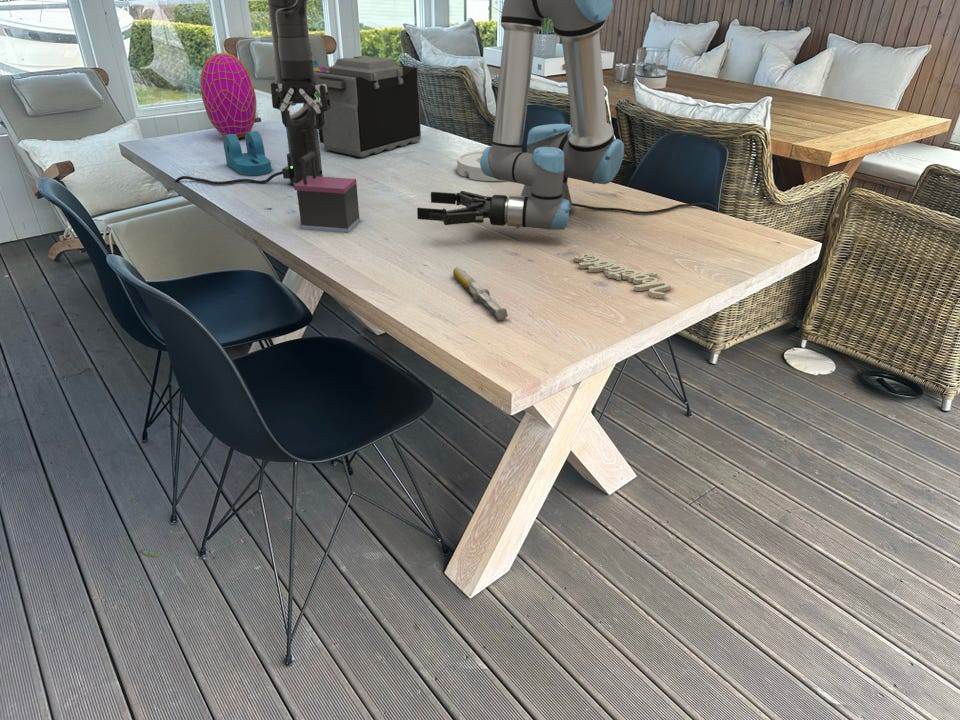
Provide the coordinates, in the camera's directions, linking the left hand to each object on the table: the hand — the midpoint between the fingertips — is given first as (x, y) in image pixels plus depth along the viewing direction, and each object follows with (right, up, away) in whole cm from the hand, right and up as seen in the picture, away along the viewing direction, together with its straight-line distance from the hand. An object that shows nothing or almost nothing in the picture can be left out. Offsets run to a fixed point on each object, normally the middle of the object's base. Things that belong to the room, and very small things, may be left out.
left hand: (304, 127), depth 171 cm
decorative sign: (+76, -39, -15) cm, 87 cm away
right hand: (+30, -18, +4) cm, 35 cm away
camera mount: (-33, +6, +58) cm, 67 cm away
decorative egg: (-51, +29, +96) cm, 112 cm away
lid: (+4, -13, +7) cm, 15 cm away
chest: (+4, -22, +12) cm, 25 cm away
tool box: (+3, +23, +87) cm, 90 cm away
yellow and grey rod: (+44, -45, -26) cm, 68 cm away
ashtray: (+48, +5, +58) cm, 75 cm away
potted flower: (-24, +44, +122) cm, 132 cm away
